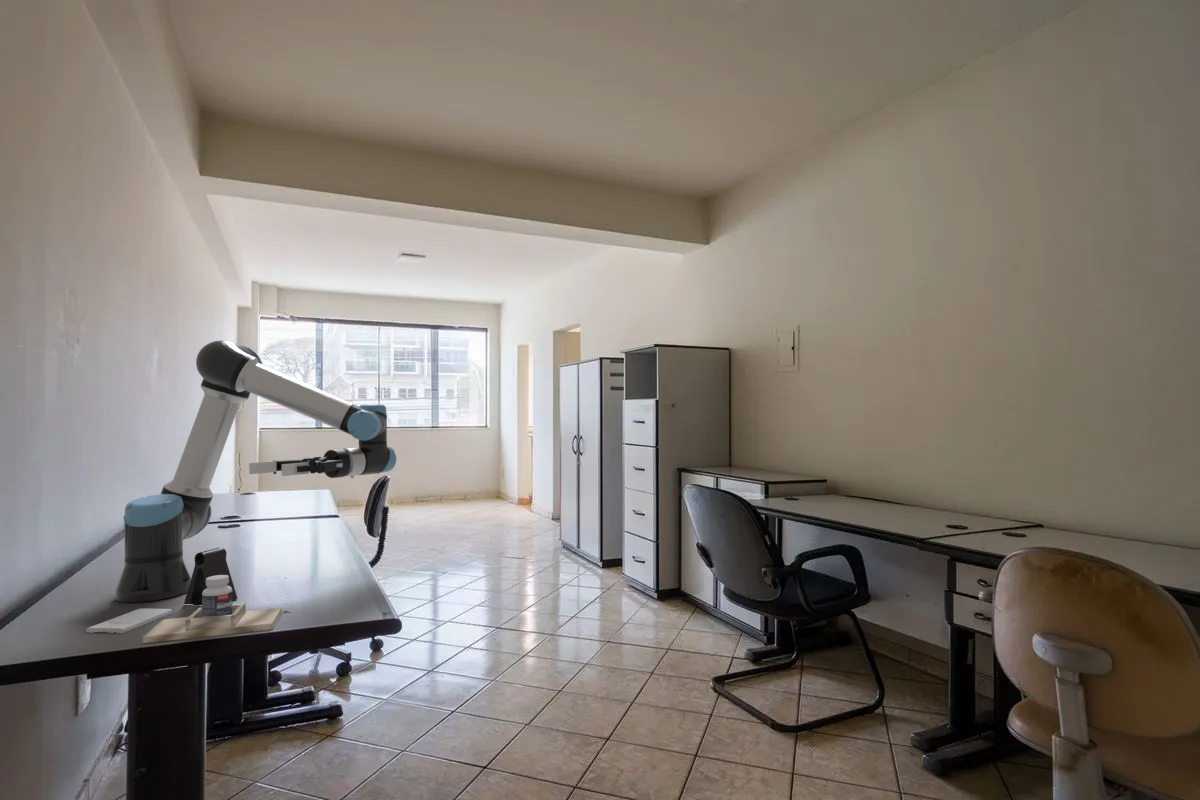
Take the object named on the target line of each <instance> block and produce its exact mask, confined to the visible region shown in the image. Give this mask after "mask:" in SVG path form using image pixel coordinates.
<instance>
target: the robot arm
mask: <svg viewBox="0 0 1200 800" xmlns="http://www.w3.org/2000/svg"><path fill="white" fill-rule="evenodd" d="M195 364H196V370H197V372H198V374H199V375H200V376H201V377H202V382H201V384H200V388H201V390H202V391H203V393H204V395H203V397H202V400H201V403H200V406H199V409H198V411H197V413H196V417H195V419H194V422H193V425H192V428H191V430H190V432H189V436H188V438H187V441H186V442H185V443H186V444H185V446H184V449H183V451H182V455H181V456H180V460H179V463H178V466H177V468H176V470H175V473H174V475H173V476H174V477H173V478H172V480H171V481H169V482H166V483H165V484H163V487H162V489H161V491H160V494H154V495H153V494H152V495H147V496H144V497H139V498H134V499H133V500H131V501H128V502H127V504H126V506H125V509H124V515H123V521H124V526H123V527H124V567H123V570H122V572H121V574H120V578H119V580H118V583H117V585H116V588H115V600H116V602H120V603H128V604H129V603H130V604H131V603H144V602H145V601H146V602H152V601H160V600H165V599H170V598H174V597H178V596H180V595H183V594H187V591H188V588H189V584H190V581H191V578H192V577H191V576H190V574H189V571H188V568H187V566H186V563H185V561H184V540H186V539H187V540H188V539H191V538H193V537H195V536H196V535H198V534H200V533H201V532H202V531H203V530H204V529H205V528H206V527H207V526H208V525H209V522H210V521H211V518H212V507H211V503H212V501H213V497H214V493H213V492H212V490H211V488H210V486H211V484H212V483H213V482H212V481H213V478H214V476H215V473H216V470H217V468H218V465H219V462H220V459H221V457H222V454H223V451H224V448H225V447H226V446H225V445H226V442H227V440H228V437H229V435H230V432H231V430H232V429H231V428H232V427H233V424H234V420H235V418H236V416H237V413H238V410H239V407H240V404H242V403H243V402H245V401H248V400H249V397H250V394H253V395H256V396H257V397H261V398H262V399H265V400H266V401H270V402H272V403H275V404H277V405H279V406H281V407H284V408H287V409H289V410H292V411H294V412H296V413H298V414H301V415H303V416H306V417H308V418H311V419H313V420H315V421H318V422H320V423H322V424H325V425H327V426H329V427H332V428H334V429H337V430H340V431H342V433H346V434H348V435H350V436H352V437H353V438H354V439H356V440H358V447H349V448H336V449H335V448H334V449H329V450H327V451H326V452H325V453H324V455H323V456H322V457H321V456H314V457H309V458H308V457H307V458H302V459H287V460H286V459H285V460H276V459H275V460H272V461H257V462H249V463H248V470H249V471H248V472H249V473H248V474H249V475H254V474H255V475H257V474H267V473H273V475H276V474H277V472H281V476H282V477H285V476H286V477H288V476H299V475H307V474H319V475H321V474H324V475H326V476H327V477H328V478H331V479H336V478H344V477H350V478H351V479H355V476H364V475H365V476H366V475H376V474H378V475H379V474H382V473H388V472H390V471H392V470H393V469H394V468H395V466H396V463H397V455H396V454H395V452H396V451H395V450H394V449H393V448H392V447H391V446H389V445H388V439H387V438H388V437H387V436H388V435H387V432H388V431H387V430H388V429H387V428H388V427H387V426H388V425H387V422H388V415H387V407H386V405H384V404H361V405H359V406H358V405H356V404H353V403H351V402H350V401H347V400H345V399H342V398H340V397H337V396H335V395H333V394H330V393H328V392H326V391H323V390H322V389H319V388H317V387H314V386H312V385H311V384H310V385H309V384H308V383H305V382H303V381H300V380H299V379H296V378H293V377H291V376H290V375H287V374H285V373H282V372H279V371H277V370H275V369H273V368H270V367H268V366H266V365H263V364H264V363H263V361H262V359H261V358H260V355H259V354H258V353H257V352H255V351H254V350H253V349H252V348H251V347H247V346H245V345H244V344H243V345H241V344H237V343H235V342H233V341H229V340H216V341H212V342H210V343H209V342H208V343H207V344H206V345H204V346H203V347H202V348H201V349H200V350H199V352H198V353H197V356H196V361H195Z"/></svg>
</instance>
